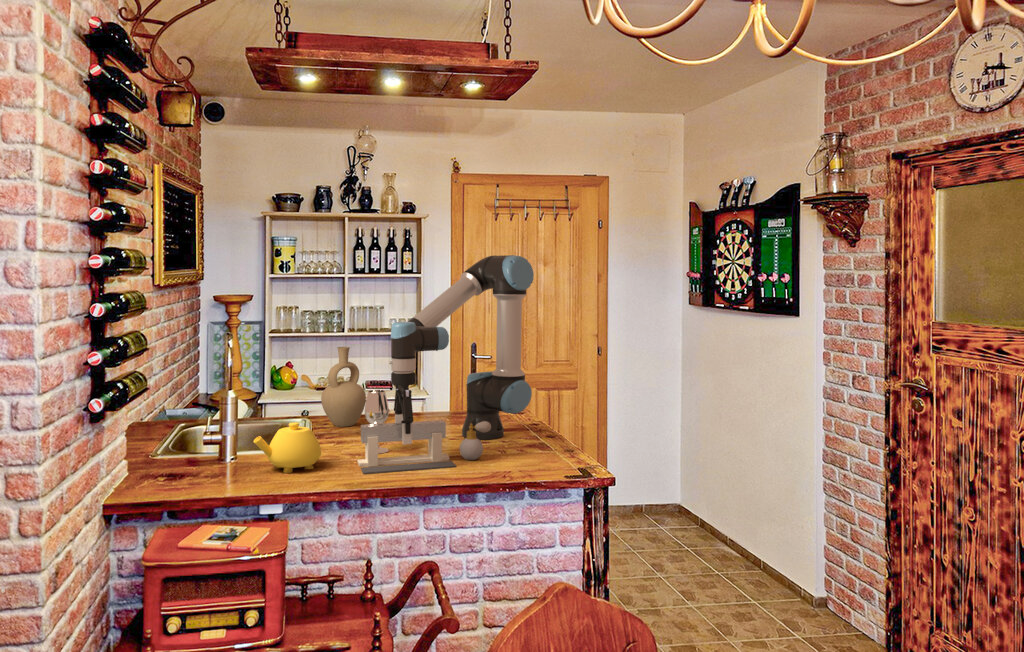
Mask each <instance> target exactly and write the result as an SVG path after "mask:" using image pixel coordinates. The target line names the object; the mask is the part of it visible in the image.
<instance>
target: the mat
mask: <svg viewBox="0 0 1024 652" xmlns="http://www.w3.org/2000/svg"><path fill="white" fill-rule="evenodd" d="M448 468H449V469H452V468H457V465H456V464H455V463H454V462H453V461H452V460H445V461H438V462H432V461H431V462H418V463H404V464H391V465H378V466H371V467H368V466H364V467H360V470H361V472H362V474H363V475H373V474H386V473H400V472H411V471H424V470H436V469H437V470H438V469H448Z"/></svg>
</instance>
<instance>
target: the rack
mask: <svg viewBox="0 0 1024 652" xmlns="http://www.w3.org/2000/svg"><path fill="white" fill-rule="evenodd" d="M427 440H428V441H427V443H428V445H427V447H428V454H420V455H419V454H418V455H405V456H392V457H379V454H378V445H379V442H378V436H376V437H368V443H364V445H365V449H364V450H365V453H364V454H365V455H364V457H365V458H362V459H357V465H358V466H359V467H360V468H363V467H376V466H390V465H403V464H417V463H430V462H443V461H450V456H449V455H448V454H447V453H443V438H442V433H441V432H440V433H432V439H427Z"/></svg>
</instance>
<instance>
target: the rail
mask: <svg viewBox="0 0 1024 652" xmlns="http://www.w3.org/2000/svg"><path fill="white" fill-rule="evenodd" d="M446 425H447V422H446V421H444V420H443V419H442V420H440V419H439V420H422V421H421V420H420V421H413V422H412V441H419V440H420V441H421V440H422V441H423V440H428V439H432V433H440V432H441V433H442V439H446V437H447V433H446V431H447V430H446V429H447V426H446ZM376 436H378V443H388V442H389V443H391V442H392V443H393V442H403V423H402V424H401V423H395V422H391V423H387V422H386V423H383V424H370V423H369V424H360V442H361V444H365V443H368V437H376Z"/></svg>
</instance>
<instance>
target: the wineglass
mask: <svg viewBox="0 0 1024 652" xmlns="http://www.w3.org/2000/svg"><path fill="white" fill-rule="evenodd" d="M389 411H390V409H389V403H388V398H387V394H386V391H385V390H383V389H372V390H371V389H370V390H368V391H367V396H366V403H365V407H364V417H365V420H366V421H367V422H368V423H369V424H385V422H386V421H387V419H388V417H389V416H390V415H389V413H390V412H389ZM388 452H389V448H386V447H381V446H380V445H379V444H378V455H381V454H384V453H385V454H386V453H388Z"/></svg>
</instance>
